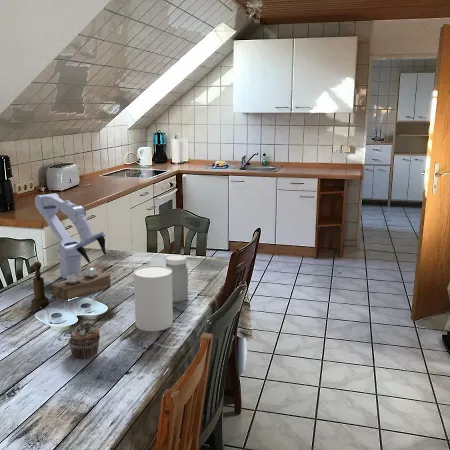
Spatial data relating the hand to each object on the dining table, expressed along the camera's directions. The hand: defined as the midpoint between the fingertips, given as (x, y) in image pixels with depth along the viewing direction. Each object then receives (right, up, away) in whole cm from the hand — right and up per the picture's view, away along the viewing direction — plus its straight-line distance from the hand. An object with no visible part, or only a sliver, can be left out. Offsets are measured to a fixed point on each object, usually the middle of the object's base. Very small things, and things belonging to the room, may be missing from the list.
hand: (97, 257), depth 214 cm
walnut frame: (-6, -14, -1) cm, 15 cm away
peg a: (-9, -12, -6) cm, 16 cm away
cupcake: (+10, -27, -55) cm, 62 cm away
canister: (+29, -22, -32) cm, 48 cm away
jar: (+35, -17, -9) cm, 40 cm away
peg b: (-3, -10, +3) cm, 11 cm away
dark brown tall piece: (-18, -18, -17) cm, 31 cm away
